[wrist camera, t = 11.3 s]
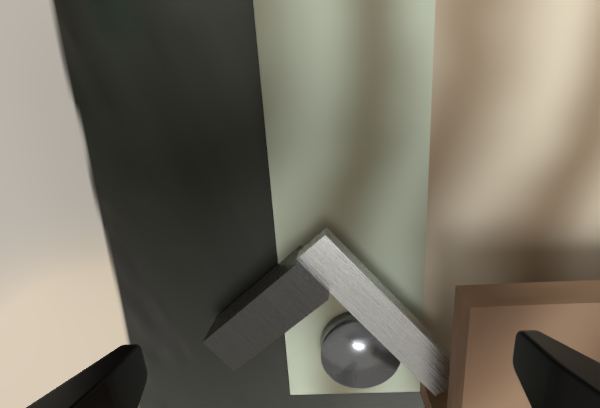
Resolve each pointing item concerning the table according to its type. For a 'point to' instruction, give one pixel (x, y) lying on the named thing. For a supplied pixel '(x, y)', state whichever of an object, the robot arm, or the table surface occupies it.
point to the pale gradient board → (441, 172)
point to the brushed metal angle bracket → (313, 293)
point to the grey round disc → (355, 354)
